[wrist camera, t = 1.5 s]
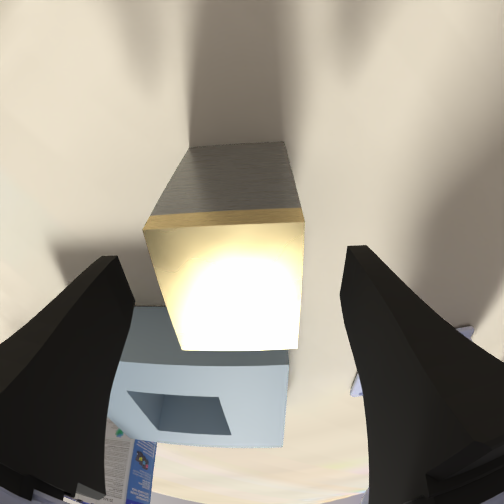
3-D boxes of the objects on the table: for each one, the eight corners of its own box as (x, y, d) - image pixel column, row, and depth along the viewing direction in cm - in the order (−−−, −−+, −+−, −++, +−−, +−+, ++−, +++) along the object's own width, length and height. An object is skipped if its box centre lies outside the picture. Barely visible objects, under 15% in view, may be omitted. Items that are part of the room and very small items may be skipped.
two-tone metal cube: (283, 141, 13) (304, 221, 7) (284, 239, 16) (297, 348, 10) (189, 147, 13) (142, 230, 8) (204, 243, 16) (182, 350, 11)
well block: (284, 304, 18) (288, 364, 15) (281, 406, 27) (282, 447, 23) (74, 304, 19) (51, 352, 16) (137, 401, 27) (129, 438, 24)
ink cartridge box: (100, 424, 33) (80, 519, 22) (74, 405, 30) (48, 508, 19) (163, 429, 32) (148, 539, 20) (140, 410, 29) (119, 534, 17)
